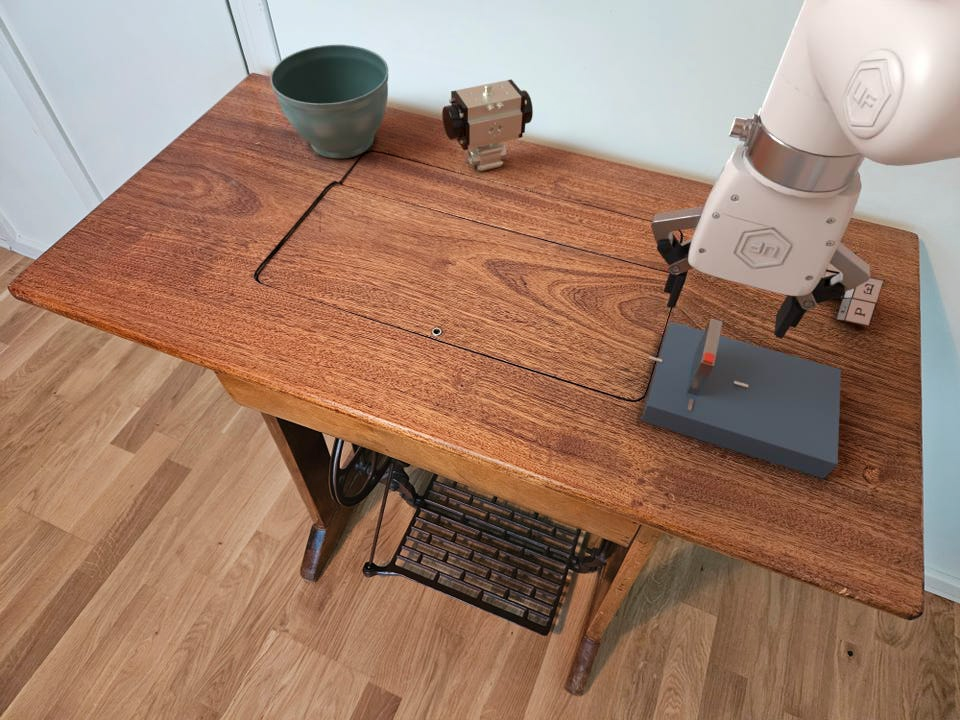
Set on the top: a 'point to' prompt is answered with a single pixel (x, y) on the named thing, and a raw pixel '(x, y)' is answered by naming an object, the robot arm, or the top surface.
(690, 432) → the blue-grey rectangular block
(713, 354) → the lever
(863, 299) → the building blocks
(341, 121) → the flower pot
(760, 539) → the top surface
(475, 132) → the pneumatic valve
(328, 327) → the top surface
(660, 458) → the top surface
